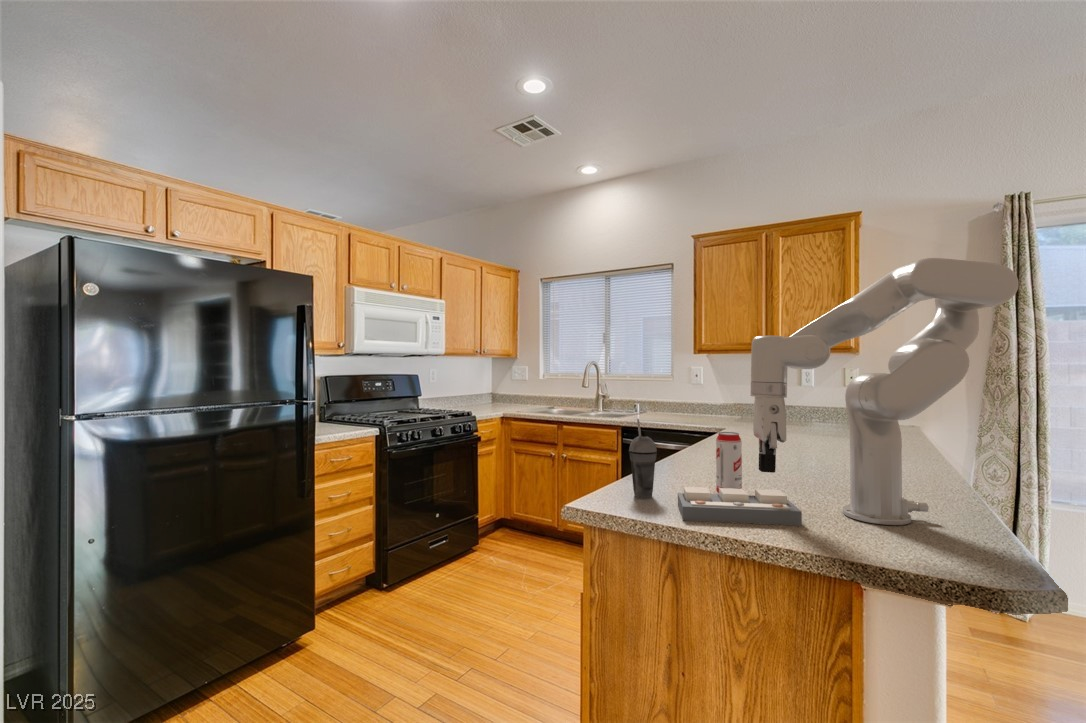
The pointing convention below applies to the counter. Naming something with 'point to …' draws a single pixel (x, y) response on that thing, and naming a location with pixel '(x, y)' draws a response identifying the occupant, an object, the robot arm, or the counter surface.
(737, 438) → the beer can
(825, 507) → the counter surface
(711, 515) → the button board
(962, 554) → the counter surface
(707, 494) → the key
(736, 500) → the middle key
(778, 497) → the key
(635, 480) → the beverage cup
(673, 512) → the counter surface
